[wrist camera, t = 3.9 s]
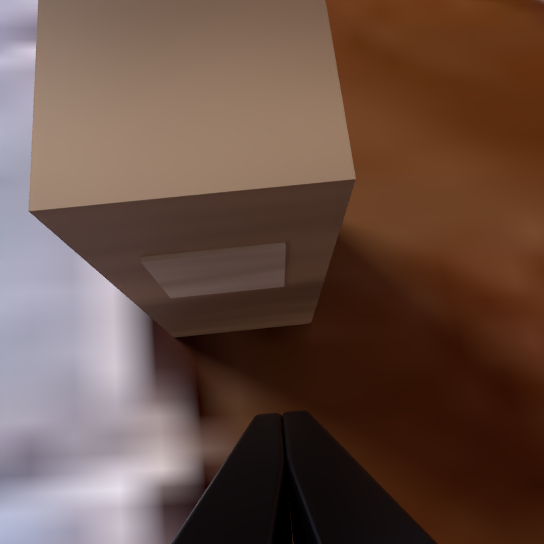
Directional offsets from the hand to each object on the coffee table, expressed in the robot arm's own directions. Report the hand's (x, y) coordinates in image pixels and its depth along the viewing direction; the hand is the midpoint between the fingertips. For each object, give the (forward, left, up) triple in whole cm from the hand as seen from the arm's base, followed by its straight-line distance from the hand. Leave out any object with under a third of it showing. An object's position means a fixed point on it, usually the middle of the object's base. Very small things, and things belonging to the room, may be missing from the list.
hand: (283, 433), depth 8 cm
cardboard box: (+5, +1, -8) cm, 10 cm away
